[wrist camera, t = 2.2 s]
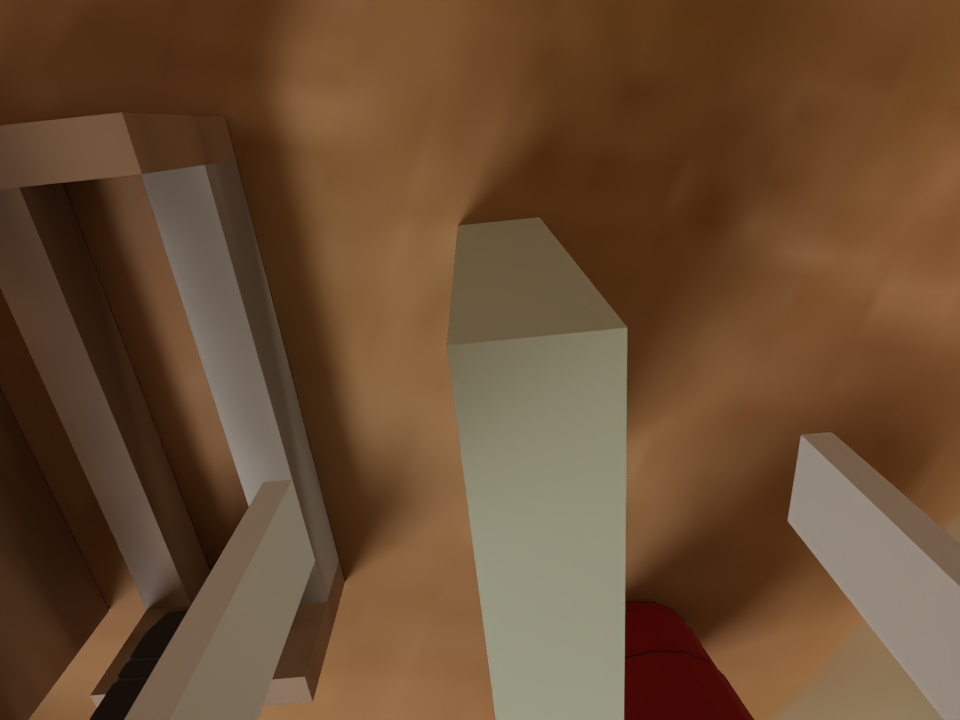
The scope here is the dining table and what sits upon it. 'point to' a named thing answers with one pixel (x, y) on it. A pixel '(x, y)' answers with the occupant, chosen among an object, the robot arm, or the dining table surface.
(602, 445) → the door panel
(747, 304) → the dining table surface
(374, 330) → the dining table surface
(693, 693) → the plastic cup
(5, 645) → the track
